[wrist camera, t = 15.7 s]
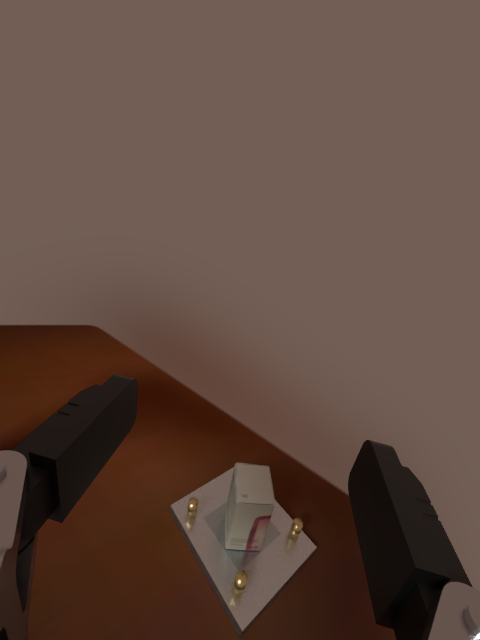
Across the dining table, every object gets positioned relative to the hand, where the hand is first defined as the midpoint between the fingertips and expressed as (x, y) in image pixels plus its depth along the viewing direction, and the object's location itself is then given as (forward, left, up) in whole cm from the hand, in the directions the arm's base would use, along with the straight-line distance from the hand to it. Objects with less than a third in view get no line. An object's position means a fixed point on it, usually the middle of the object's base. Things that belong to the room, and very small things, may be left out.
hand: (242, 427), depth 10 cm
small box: (-8, +13, -29) cm, 33 cm away
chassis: (-8, +14, -30) cm, 34 cm away
